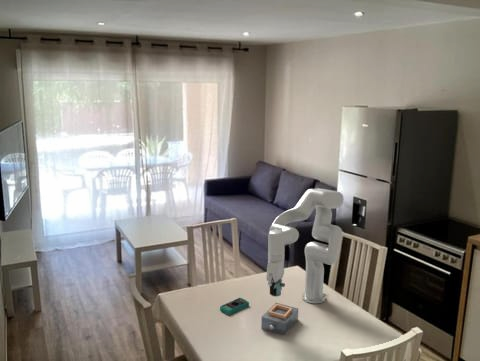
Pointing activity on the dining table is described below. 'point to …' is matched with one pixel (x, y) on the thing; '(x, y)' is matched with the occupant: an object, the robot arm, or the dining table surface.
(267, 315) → the grey box
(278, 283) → the cylinder
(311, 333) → the dining table surface
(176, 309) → the dining table surface
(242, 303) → the digital multimeter
